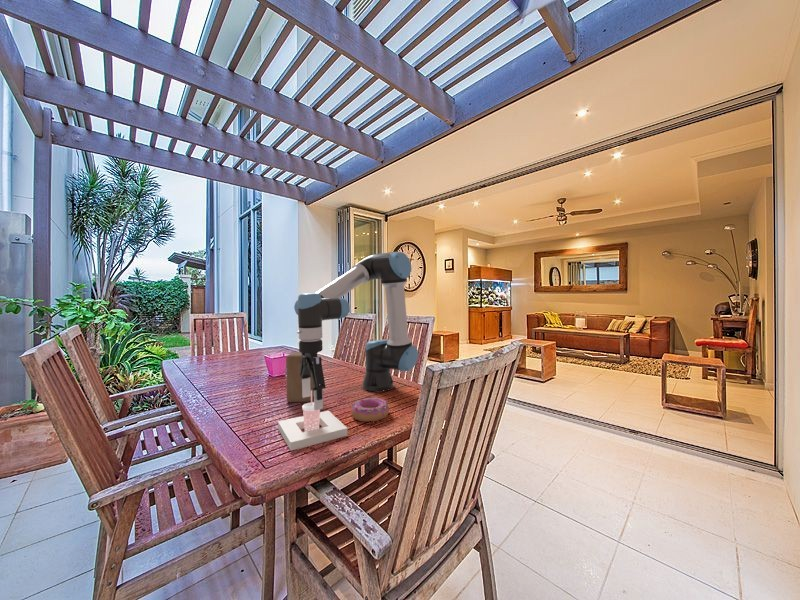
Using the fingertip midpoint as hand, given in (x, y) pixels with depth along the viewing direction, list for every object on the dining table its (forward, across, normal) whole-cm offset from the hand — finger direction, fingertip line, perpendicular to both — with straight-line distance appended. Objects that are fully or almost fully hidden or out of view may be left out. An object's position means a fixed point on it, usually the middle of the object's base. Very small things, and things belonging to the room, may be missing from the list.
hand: (312, 402), depth 105 cm
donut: (+11, -2, +23) cm, 25 cm away
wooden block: (+10, -35, +6) cm, 37 cm away
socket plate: (+10, 0, 0) cm, 10 cm away
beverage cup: (+10, 0, 0) cm, 10 cm away
